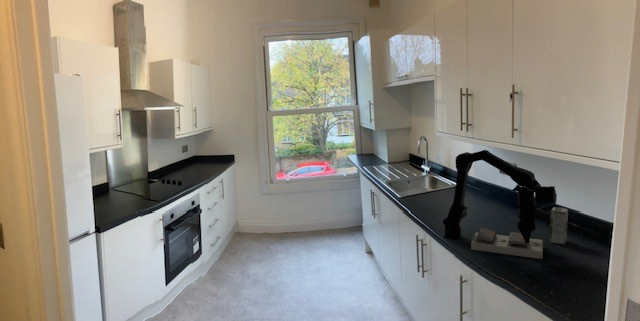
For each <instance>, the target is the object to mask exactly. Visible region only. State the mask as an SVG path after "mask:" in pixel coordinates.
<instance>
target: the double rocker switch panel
mask: <svg viewBox="0 0 640 321" xmlns="http://www.w3.org/2000/svg"><path fill="white" fill-rule="evenodd" d="M478 233H479V232H475V234H474V235H473V238H472V240H471V241H470V240H463V243H464V244H470V250H472V251H479V252H487V253H488V252H489V253H495V254H501V255H509V256H518V257H524V258H525V257H526V258H530V259H531V258H532V259H538V260H539V259H540V260H543V258H544V257H543V253H544V252H543V250H544V249H543V245H544V244H543V239H539V238H538V239H537V238H530V241H529V243H526V242H525V245H522V244H511V243H508V240H509V235H502V234H495V235H494V238H493V241H492V242H489V241H486V240H483V239H479V238H477V235H478Z"/></svg>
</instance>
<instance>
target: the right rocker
mask: <svg viewBox="0 0 640 321" xmlns="http://www.w3.org/2000/svg"><path fill="white" fill-rule="evenodd" d="M508 236H509V240H508V243H511V244H522V245H525V240H524V238H523V236H522V234H521V232H514V231H510V232H509V234H508Z"/></svg>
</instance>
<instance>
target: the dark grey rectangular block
mask: <svg viewBox="0 0 640 321" xmlns="http://www.w3.org/2000/svg"><path fill="white" fill-rule="evenodd" d="M477 233H478V235H477V238H479V239H483V240H486V241H489V242H492V241H493V238H494V235H496V234H495V233H496V231H494V230H492V229H487V228H485V227H480V229H479V231H478V232H477Z"/></svg>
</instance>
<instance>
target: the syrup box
mask: <svg viewBox="0 0 640 321" xmlns="http://www.w3.org/2000/svg"><path fill="white" fill-rule="evenodd" d="M550 212H551V217H550V219H549V222H550V223H549V237H548V238H549V241H548V242H549V243H551V244H558V245H565V244H566V243H567V236H568V218H569V217H568V216H569V209H568V208H565V207H559V206H558V207H555V206H554V207H552V209H551V210H550Z"/></svg>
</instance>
